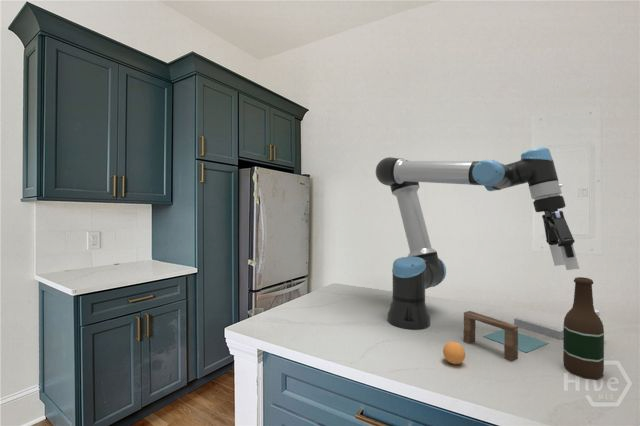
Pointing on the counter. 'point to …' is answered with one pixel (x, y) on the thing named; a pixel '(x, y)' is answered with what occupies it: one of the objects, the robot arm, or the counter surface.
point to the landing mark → (524, 341)
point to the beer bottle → (583, 334)
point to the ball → (454, 352)
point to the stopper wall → (539, 328)
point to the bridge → (510, 329)
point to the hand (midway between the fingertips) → (566, 267)
